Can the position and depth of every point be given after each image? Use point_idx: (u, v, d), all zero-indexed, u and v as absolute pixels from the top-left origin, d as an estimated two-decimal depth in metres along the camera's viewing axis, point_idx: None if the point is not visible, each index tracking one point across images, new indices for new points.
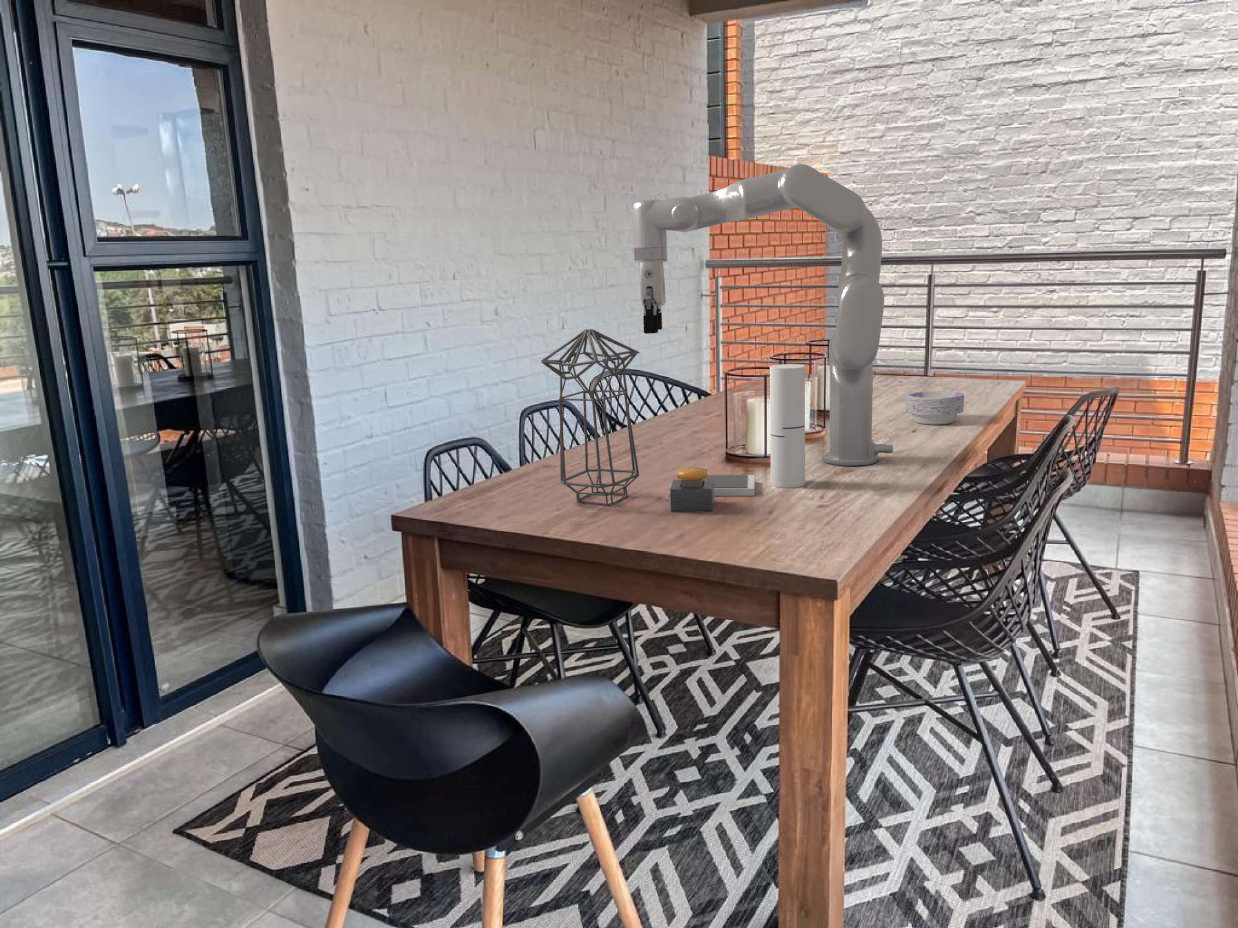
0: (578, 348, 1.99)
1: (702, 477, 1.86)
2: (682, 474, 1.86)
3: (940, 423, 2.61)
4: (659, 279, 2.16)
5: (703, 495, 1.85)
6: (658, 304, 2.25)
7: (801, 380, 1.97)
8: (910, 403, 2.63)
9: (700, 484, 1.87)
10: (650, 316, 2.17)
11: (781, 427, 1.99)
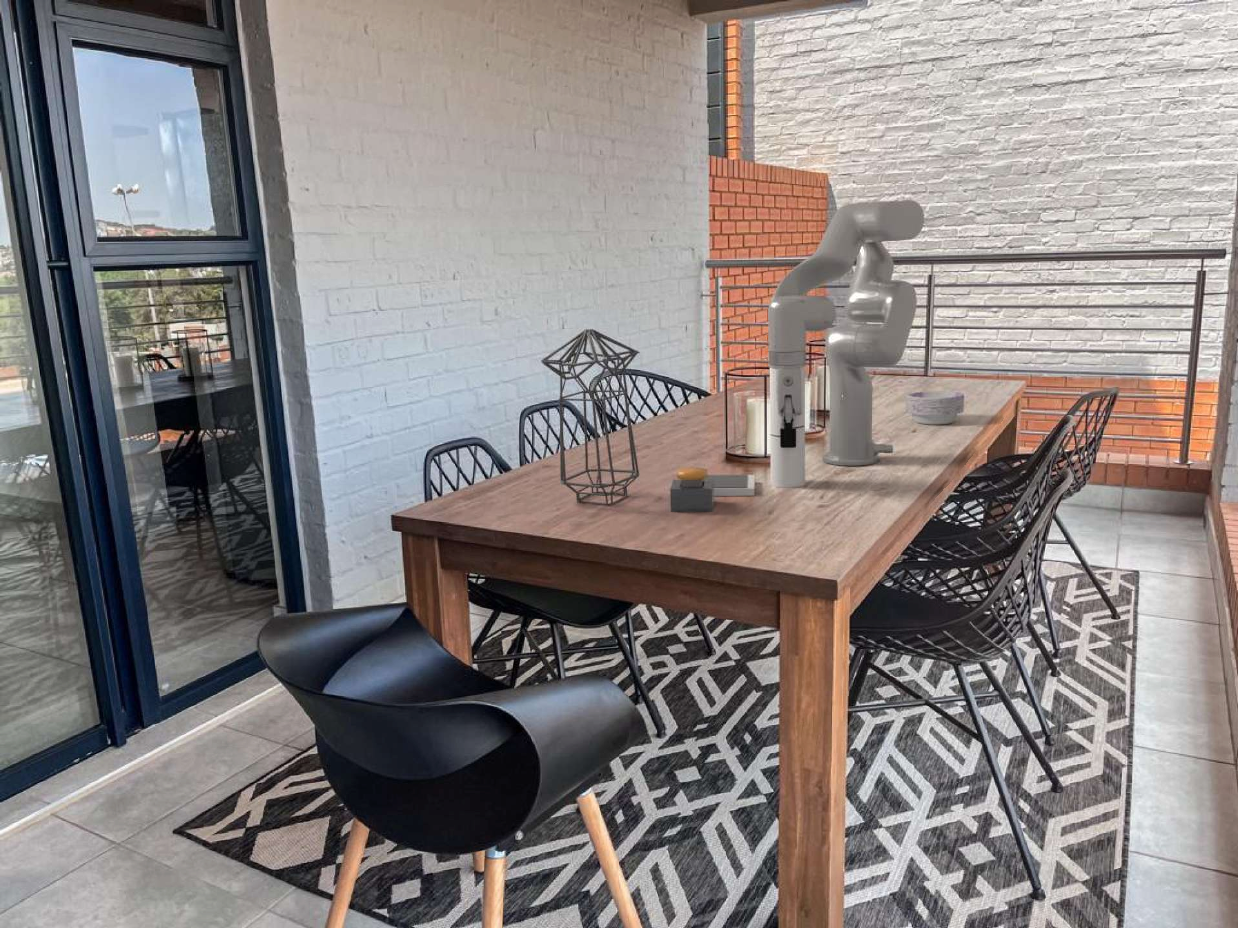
0: (578, 348, 1.99)
1: (702, 477, 1.86)
2: (682, 474, 1.86)
3: (940, 423, 2.61)
4: (799, 387, 1.95)
5: (703, 495, 1.85)
6: None
7: (801, 380, 1.97)
8: (910, 403, 2.63)
9: (700, 484, 1.87)
10: (788, 429, 1.97)
11: (781, 427, 1.99)
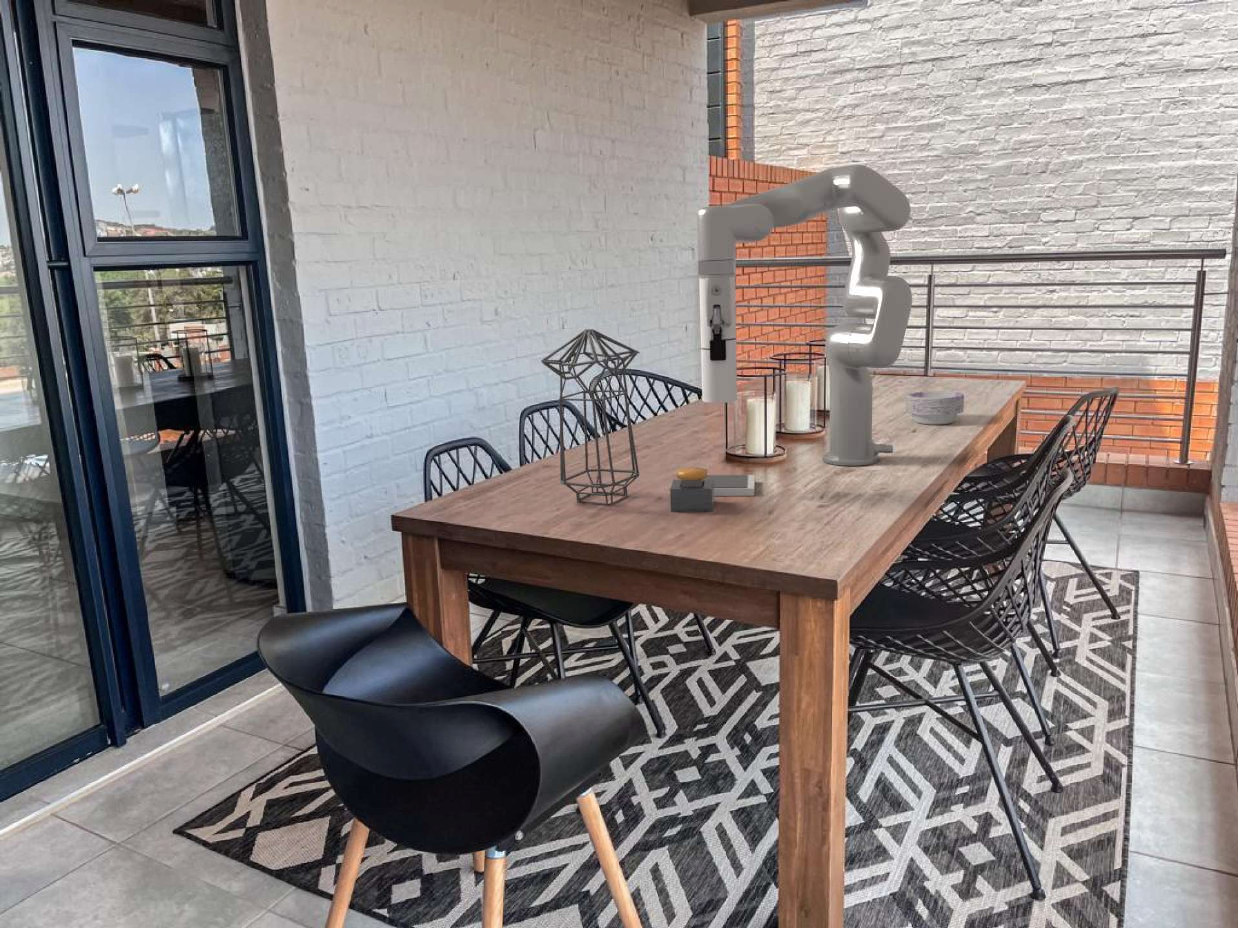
0: (578, 348, 1.99)
1: (702, 477, 1.86)
2: (682, 474, 1.86)
3: (940, 423, 2.61)
4: (728, 296, 1.89)
5: (703, 495, 1.85)
6: None
7: (731, 290, 1.91)
8: (910, 403, 2.63)
9: (700, 484, 1.87)
10: (718, 341, 1.91)
11: None
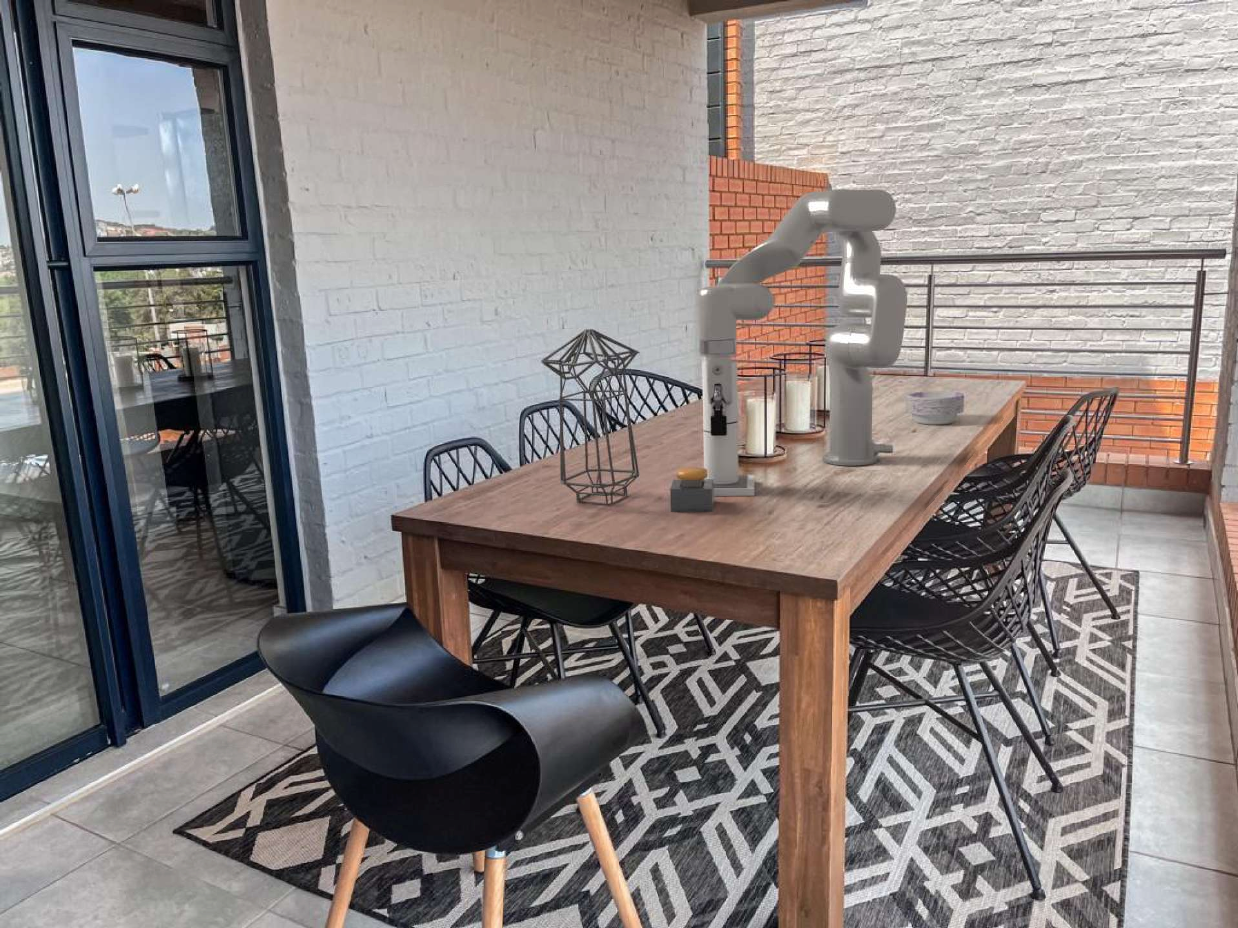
0: (578, 348, 1.99)
1: (702, 477, 1.86)
2: (682, 474, 1.86)
3: (940, 423, 2.61)
4: (729, 375, 1.93)
5: (703, 495, 1.85)
6: None
7: (733, 376, 1.95)
8: (910, 403, 2.63)
9: (700, 484, 1.87)
10: (719, 417, 1.94)
11: None
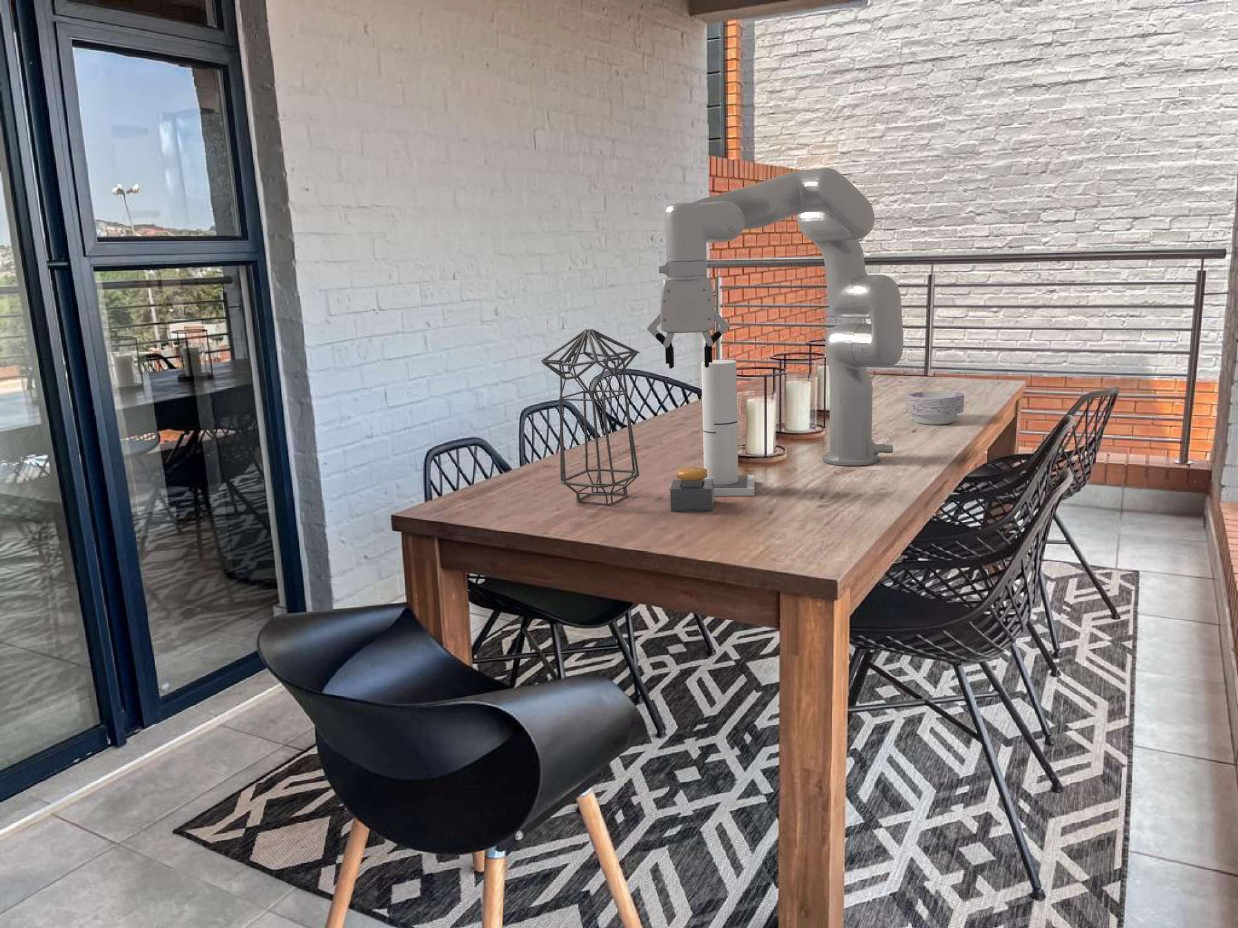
0: (578, 348, 1.99)
1: (702, 477, 1.86)
2: (682, 474, 1.86)
3: (940, 423, 2.61)
4: (662, 300, 1.80)
5: (703, 495, 1.85)
6: None
7: (732, 376, 1.95)
8: (910, 403, 2.63)
9: (700, 484, 1.87)
10: (665, 347, 1.84)
11: (712, 423, 1.97)
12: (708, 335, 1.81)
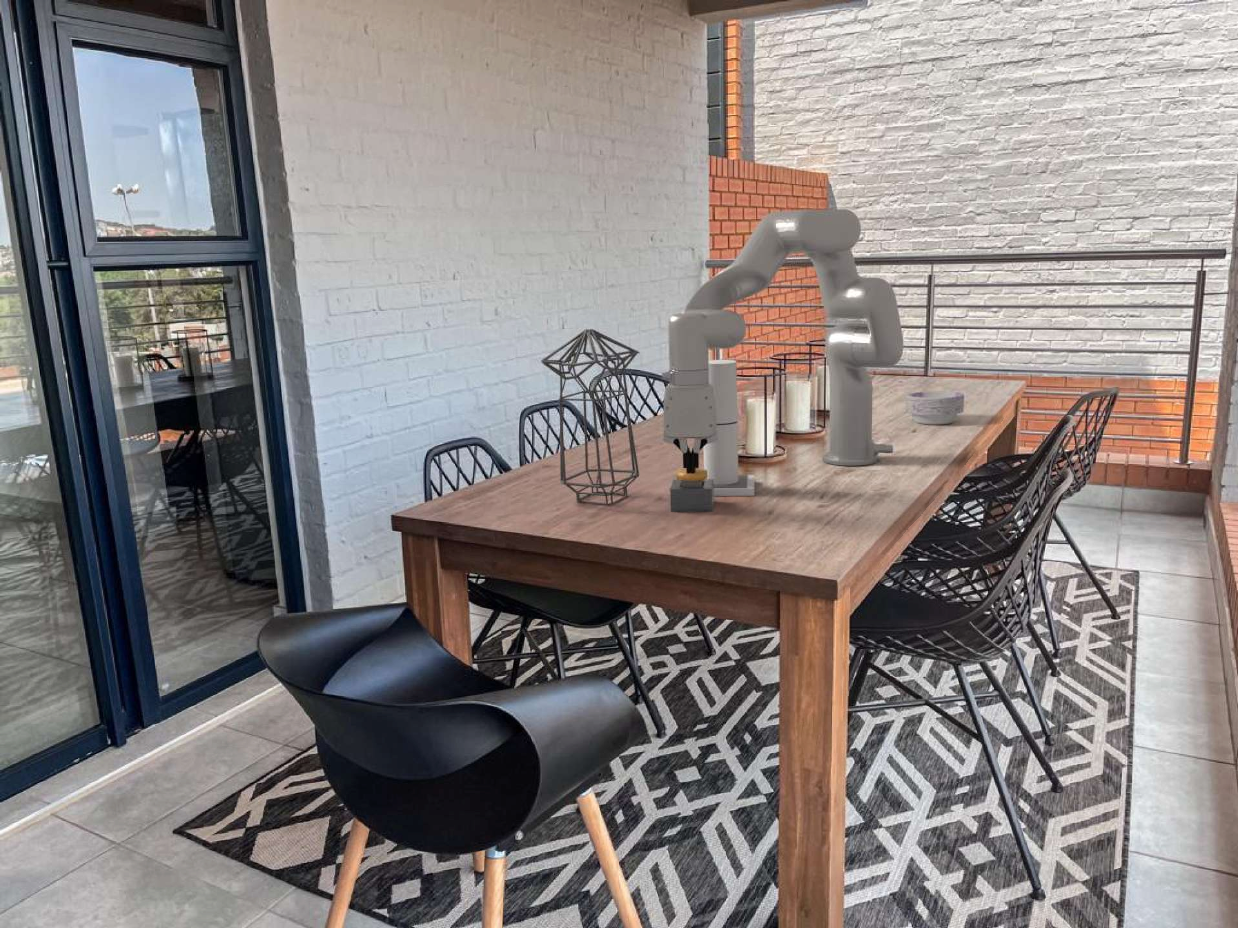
0: (578, 348, 1.99)
1: (702, 478, 1.86)
2: (682, 475, 1.86)
3: (940, 423, 2.61)
4: (664, 407, 1.84)
5: (703, 495, 1.85)
6: (695, 438, 1.86)
7: (732, 376, 1.95)
8: (910, 403, 2.63)
9: (700, 485, 1.87)
10: (683, 452, 1.88)
11: None
12: (699, 443, 1.85)
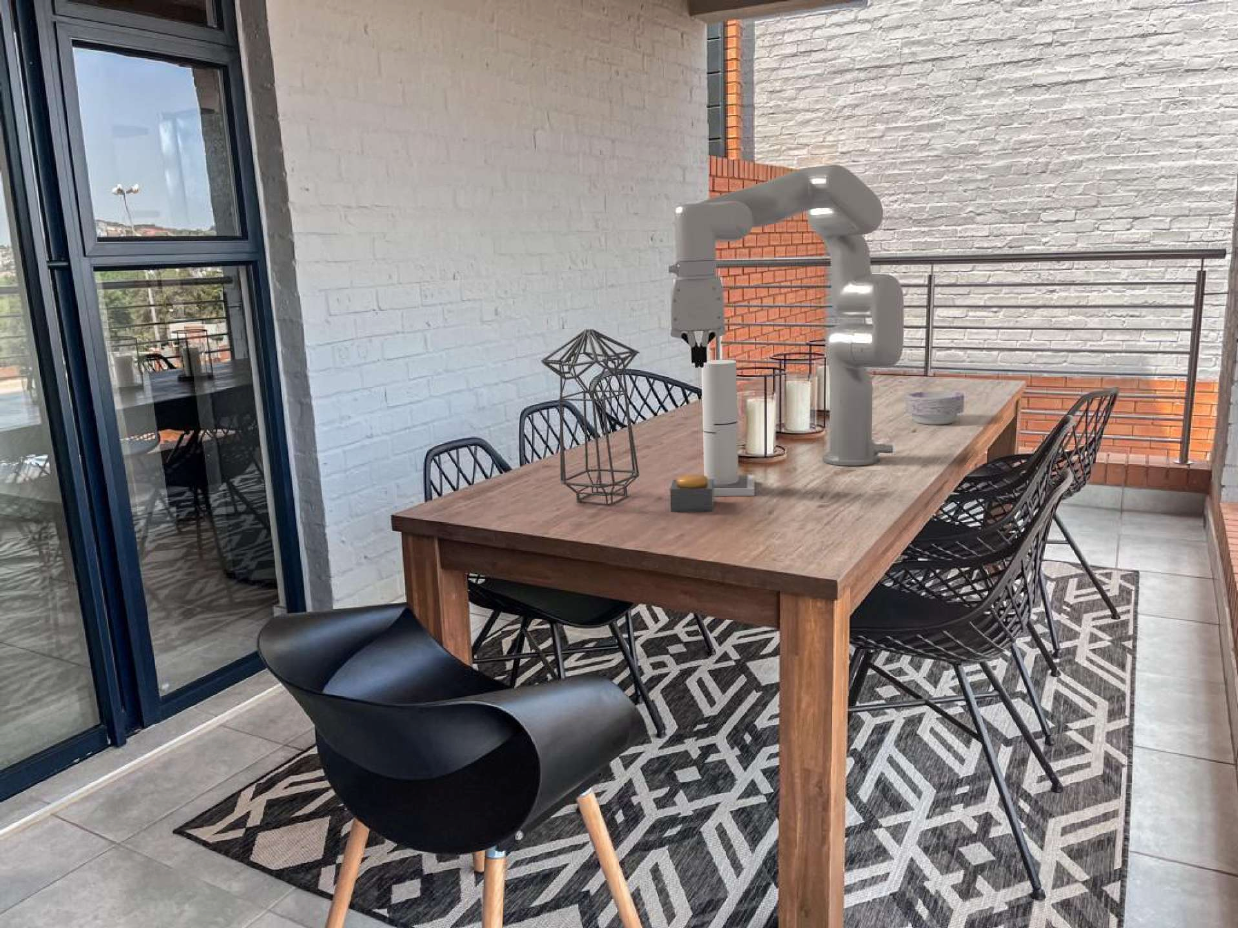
0: (578, 348, 1.99)
1: (702, 484, 1.87)
2: (682, 481, 1.87)
3: (940, 423, 2.61)
4: (672, 300, 1.83)
5: (703, 495, 1.85)
6: (703, 331, 1.84)
7: (732, 376, 1.95)
8: (910, 403, 2.63)
9: None
10: (691, 347, 1.86)
11: (712, 423, 1.97)
12: (707, 336, 1.84)
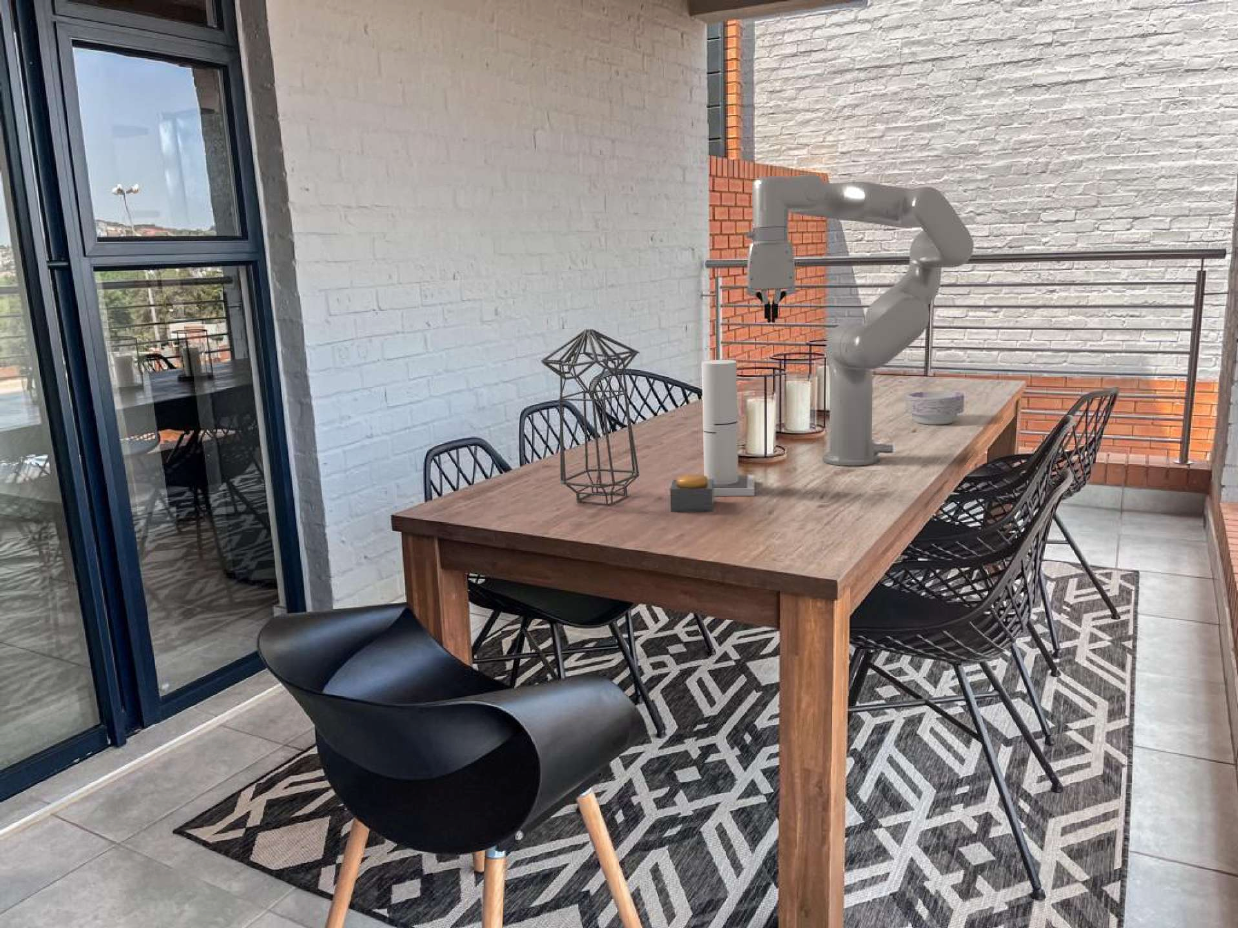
0: (578, 348, 1.99)
1: (702, 484, 1.87)
2: (682, 481, 1.87)
3: (940, 423, 2.61)
4: (749, 262, 2.07)
5: (703, 495, 1.85)
6: (775, 290, 2.09)
7: (732, 376, 1.95)
8: (910, 403, 2.63)
9: None
10: (764, 304, 2.11)
11: (713, 423, 1.97)
12: (779, 294, 2.09)
